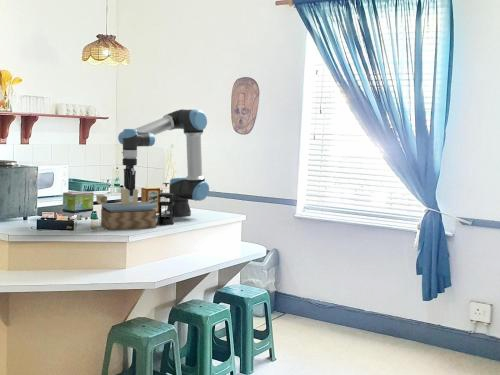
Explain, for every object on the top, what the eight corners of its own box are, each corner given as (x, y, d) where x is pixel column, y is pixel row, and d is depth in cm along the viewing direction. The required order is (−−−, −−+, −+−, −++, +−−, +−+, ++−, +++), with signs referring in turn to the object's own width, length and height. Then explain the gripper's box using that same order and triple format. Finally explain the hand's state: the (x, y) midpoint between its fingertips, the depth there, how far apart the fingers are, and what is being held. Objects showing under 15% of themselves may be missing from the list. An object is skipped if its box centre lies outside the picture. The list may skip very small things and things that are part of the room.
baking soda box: (154, 211, 391) (154, 186, 389) (159, 213, 386) (160, 187, 384) (140, 212, 385) (141, 187, 383) (146, 214, 380) (146, 188, 378)
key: (102, 201, 347) (102, 194, 347) (107, 204, 339) (107, 196, 339) (96, 202, 346) (96, 195, 345) (100, 204, 338) (100, 197, 337)
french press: (164, 225, 341) (165, 184, 338) (152, 223, 346) (153, 182, 344) (179, 223, 350) (180, 183, 347) (167, 221, 355) (168, 181, 353)
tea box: (74, 219, 349) (75, 193, 347) (61, 218, 354) (62, 192, 352) (93, 216, 362) (94, 191, 360) (81, 215, 367) (81, 190, 365)
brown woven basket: (145, 222, 348) (145, 204, 347) (155, 227, 334) (156, 208, 332) (99, 224, 336) (99, 205, 335) (108, 230, 321) (108, 210, 320)
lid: (147, 207, 345) (148, 187, 344) (156, 210, 333) (157, 190, 332) (101, 209, 332) (101, 188, 331) (109, 212, 320) (109, 191, 319)
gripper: (118, 156, 335) (117, 199, 338) (127, 159, 320) (127, 203, 323) (131, 156, 339) (131, 199, 341) (141, 158, 324) (141, 203, 327)
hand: (129, 201), depth 332 cm, fingers closed on lid, 4 cm apart
